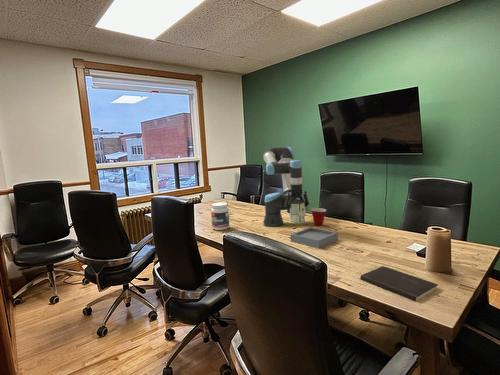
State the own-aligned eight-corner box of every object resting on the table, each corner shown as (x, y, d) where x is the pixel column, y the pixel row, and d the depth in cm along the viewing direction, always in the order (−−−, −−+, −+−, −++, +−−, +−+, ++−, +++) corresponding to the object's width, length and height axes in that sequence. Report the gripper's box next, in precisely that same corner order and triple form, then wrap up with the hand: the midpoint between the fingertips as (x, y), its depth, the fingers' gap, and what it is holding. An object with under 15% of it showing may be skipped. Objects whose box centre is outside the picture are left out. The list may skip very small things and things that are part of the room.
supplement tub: (209, 230, 211) (207, 205, 208) (215, 226, 223) (214, 202, 221) (226, 231, 208) (224, 205, 205) (231, 226, 220) (230, 202, 218)
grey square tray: (290, 241, 178) (290, 234, 177) (310, 233, 191) (310, 227, 190) (318, 248, 163) (318, 240, 162) (337, 239, 176) (337, 232, 176)
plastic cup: (327, 227, 204) (326, 210, 203) (311, 227, 207) (310, 210, 205) (326, 223, 215) (326, 207, 213) (311, 223, 217) (310, 207, 216)
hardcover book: (382, 270, 132) (382, 265, 131) (437, 289, 112) (438, 284, 112) (360, 280, 123) (360, 275, 123) (415, 303, 104) (415, 297, 103)
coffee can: (291, 219, 202) (290, 199, 200) (306, 219, 199) (305, 199, 197) (288, 223, 193) (287, 202, 191) (303, 223, 189) (303, 202, 187)
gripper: (283, 186, 185) (284, 220, 188) (314, 182, 192) (314, 215, 196) (278, 184, 192) (279, 217, 195) (308, 181, 199) (309, 213, 203)
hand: (297, 216), depth 195 cm, fingers closed on coffee can, 10 cm apart
